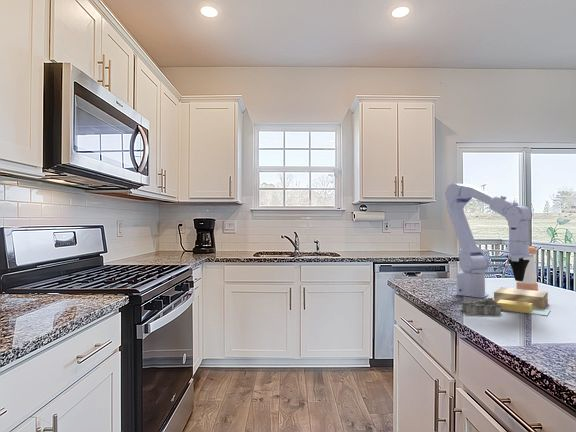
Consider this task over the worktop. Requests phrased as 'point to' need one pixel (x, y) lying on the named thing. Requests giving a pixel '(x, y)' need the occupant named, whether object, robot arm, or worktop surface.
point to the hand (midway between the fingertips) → (519, 280)
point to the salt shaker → (529, 273)
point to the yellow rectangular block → (516, 306)
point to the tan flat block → (522, 296)
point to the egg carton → (482, 307)
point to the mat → (536, 311)
